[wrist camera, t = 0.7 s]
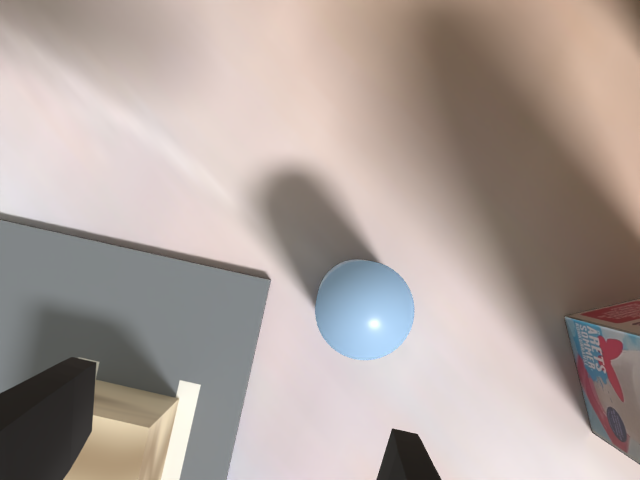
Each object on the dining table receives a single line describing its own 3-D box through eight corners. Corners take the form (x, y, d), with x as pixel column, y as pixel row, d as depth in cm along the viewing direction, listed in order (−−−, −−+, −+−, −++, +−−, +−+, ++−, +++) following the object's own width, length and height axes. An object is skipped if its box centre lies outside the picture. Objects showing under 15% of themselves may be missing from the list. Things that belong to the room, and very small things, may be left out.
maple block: (159, 487, 30) (125, 534, 25) (71, 467, 30) (20, 510, 25) (179, 398, 30) (149, 427, 25) (92, 378, 30) (44, 404, 25)
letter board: (200, 594, 30) (198, 600, 29) (-109, 521, 30) (-117, 526, 30) (271, 279, 30) (269, 280, 30) (-36, 211, 31) (-42, 210, 30)
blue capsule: (387, 346, 30) (402, 369, 24) (309, 329, 30) (305, 347, 24) (404, 268, 30) (423, 272, 24) (327, 251, 30) (327, 251, 24)
